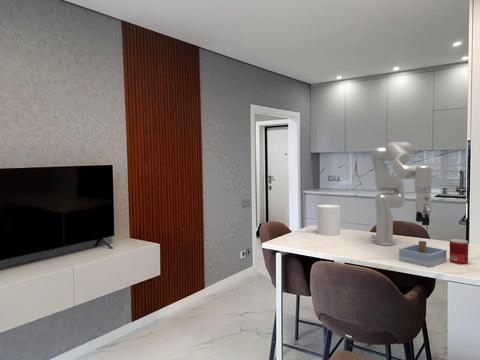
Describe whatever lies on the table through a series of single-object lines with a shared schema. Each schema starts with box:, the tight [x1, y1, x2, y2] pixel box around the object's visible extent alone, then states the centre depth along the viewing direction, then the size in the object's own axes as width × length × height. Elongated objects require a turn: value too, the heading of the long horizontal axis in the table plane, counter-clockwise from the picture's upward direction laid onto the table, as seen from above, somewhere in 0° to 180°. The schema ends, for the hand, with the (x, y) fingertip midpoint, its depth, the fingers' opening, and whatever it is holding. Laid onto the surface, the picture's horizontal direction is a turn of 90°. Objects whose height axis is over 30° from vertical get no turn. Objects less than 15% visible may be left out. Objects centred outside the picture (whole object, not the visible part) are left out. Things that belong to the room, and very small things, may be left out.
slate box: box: [398, 244, 448, 268], centre depth 183 cm, size 16×16×6 cm
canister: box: [316, 204, 341, 237], centre depth 257 cm, size 16×16×20 cm
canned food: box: [449, 238, 469, 265], centre depth 180 cm, size 8×8×11 cm
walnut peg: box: [418, 240, 427, 254], centre depth 183 cm, size 4×4×10 cm
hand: (422, 223), depth 182 cm, fingers open, 9 cm apart
